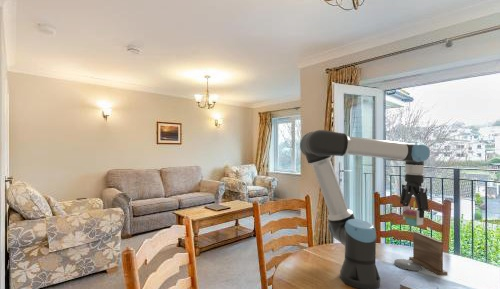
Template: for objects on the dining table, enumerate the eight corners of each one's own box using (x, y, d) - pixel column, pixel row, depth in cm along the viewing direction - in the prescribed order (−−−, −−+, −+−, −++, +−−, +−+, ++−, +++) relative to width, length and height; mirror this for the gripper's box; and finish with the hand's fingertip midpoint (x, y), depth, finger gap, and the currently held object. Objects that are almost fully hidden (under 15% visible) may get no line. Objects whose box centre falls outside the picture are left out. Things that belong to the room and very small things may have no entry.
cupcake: (426, 228, 118) (427, 201, 118) (406, 226, 120) (406, 199, 120) (418, 223, 126) (419, 198, 127) (399, 221, 128) (400, 197, 129)
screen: (436, 274, 113) (436, 242, 114) (409, 259, 130) (409, 231, 131) (447, 274, 114) (447, 242, 114) (418, 259, 131) (418, 231, 131)
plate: (404, 271, 116) (405, 268, 116) (389, 261, 127) (389, 258, 127) (427, 270, 117) (427, 268, 117) (410, 260, 128) (410, 258, 128)
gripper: (439, 176, 114) (438, 228, 113) (406, 172, 135) (404, 217, 134) (423, 175, 113) (422, 228, 112) (392, 172, 134) (391, 216, 133)
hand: (412, 222), depth 123 cm, fingers closed on cupcake, 8 cm apart
